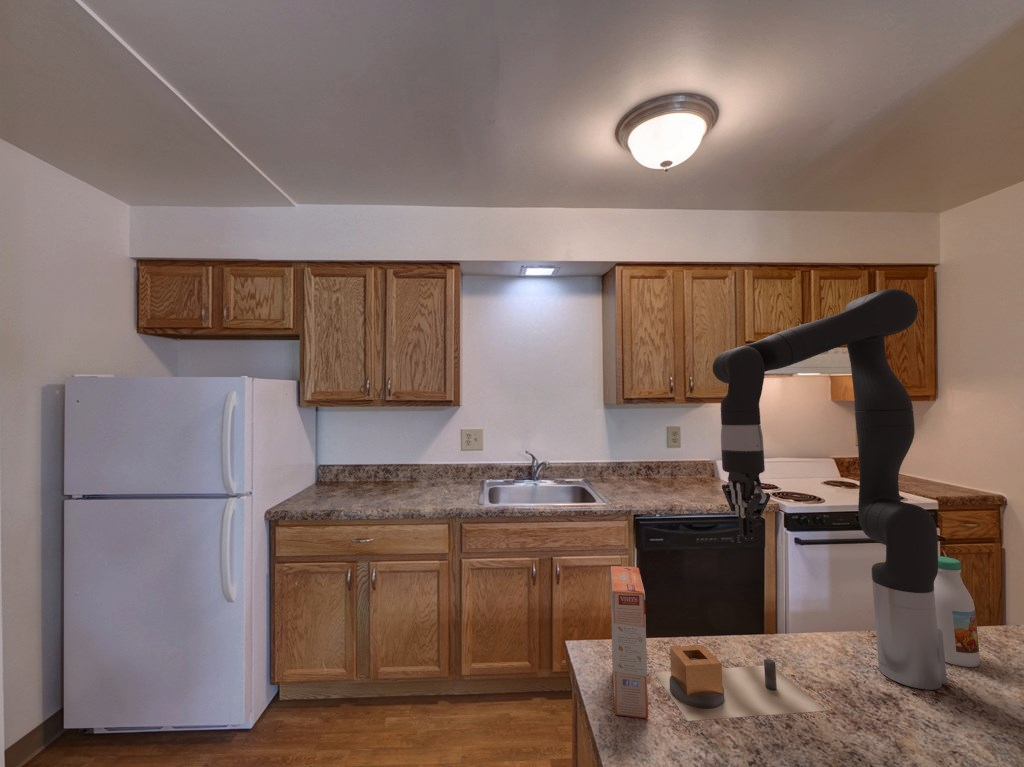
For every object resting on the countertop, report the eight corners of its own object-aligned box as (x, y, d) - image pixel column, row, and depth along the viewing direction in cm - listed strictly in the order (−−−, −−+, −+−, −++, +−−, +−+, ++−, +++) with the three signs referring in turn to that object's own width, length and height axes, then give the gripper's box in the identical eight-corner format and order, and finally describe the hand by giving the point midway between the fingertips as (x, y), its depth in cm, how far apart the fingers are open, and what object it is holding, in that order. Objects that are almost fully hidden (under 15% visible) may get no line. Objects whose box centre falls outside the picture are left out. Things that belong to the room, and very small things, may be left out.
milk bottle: (938, 664, 91) (930, 562, 93) (921, 646, 99) (913, 551, 100) (989, 671, 89) (979, 566, 90) (967, 652, 96) (959, 555, 97)
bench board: (772, 672, 89) (770, 636, 90) (827, 720, 75) (824, 676, 76) (654, 680, 87) (652, 643, 88) (688, 730, 73) (686, 685, 74)
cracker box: (650, 721, 76) (646, 592, 78) (614, 716, 77) (610, 590, 79) (643, 674, 90) (639, 565, 91) (612, 671, 91) (609, 564, 92)
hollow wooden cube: (704, 672, 84) (703, 644, 85) (722, 693, 78) (721, 663, 79) (671, 674, 84) (669, 646, 84) (687, 696, 78) (685, 665, 78)
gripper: (782, 449, 84) (788, 545, 83) (740, 445, 97) (745, 528, 96) (743, 450, 83) (748, 547, 82) (706, 446, 96) (711, 529, 95)
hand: (746, 536), depth 89 cm, fingers closed
